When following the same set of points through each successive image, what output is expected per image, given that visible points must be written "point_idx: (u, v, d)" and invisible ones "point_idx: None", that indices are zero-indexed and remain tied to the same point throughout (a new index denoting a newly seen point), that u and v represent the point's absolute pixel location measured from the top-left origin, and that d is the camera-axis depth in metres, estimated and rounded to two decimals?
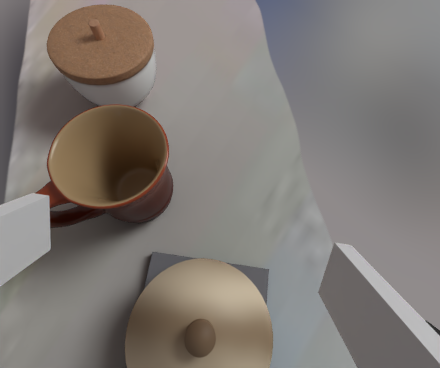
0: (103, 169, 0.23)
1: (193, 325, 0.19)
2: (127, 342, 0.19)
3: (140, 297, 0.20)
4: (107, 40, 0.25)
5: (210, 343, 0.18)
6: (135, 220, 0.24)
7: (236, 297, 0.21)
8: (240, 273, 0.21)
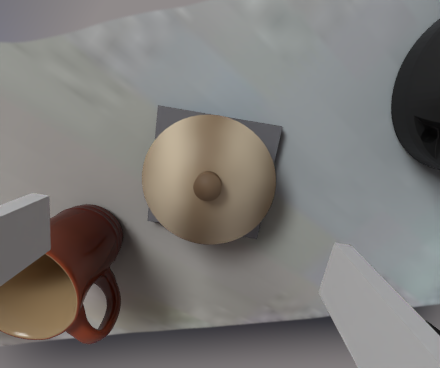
0: (63, 276, 0.24)
1: (196, 193, 0.20)
2: (212, 242, 0.23)
3: (178, 235, 0.23)
4: None
5: (210, 178, 0.20)
6: (115, 241, 0.25)
7: (177, 149, 0.21)
8: (154, 144, 0.21)
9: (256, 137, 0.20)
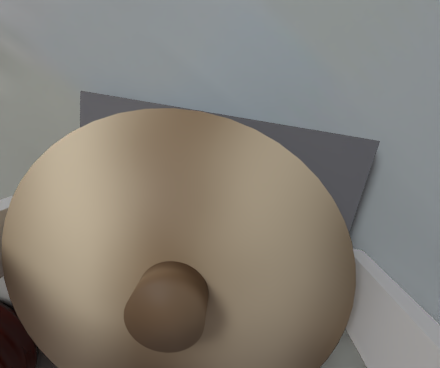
0: None
1: (134, 333, 0.07)
2: None
3: None
4: None
5: (173, 298, 0.07)
6: None
7: (85, 203, 0.07)
8: (22, 188, 0.07)
9: (310, 177, 0.07)
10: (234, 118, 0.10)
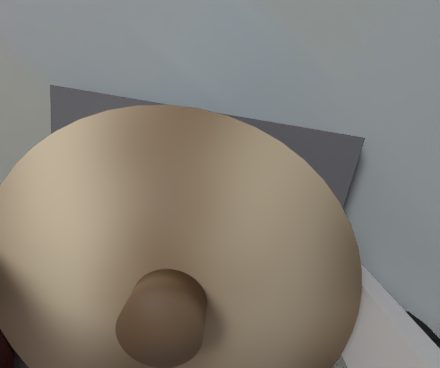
0: None
1: (127, 347, 0.07)
2: None
3: None
4: None
5: (169, 310, 0.06)
6: None
7: (73, 208, 0.07)
8: (3, 192, 0.07)
9: (314, 178, 0.06)
10: None
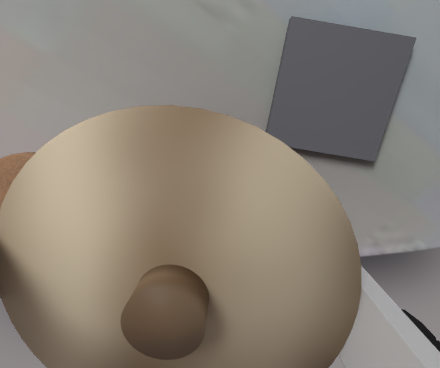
0: None
1: (131, 340, 0.07)
2: None
3: None
4: None
5: (172, 303, 0.07)
6: None
7: (80, 204, 0.07)
8: (14, 189, 0.07)
9: (314, 177, 0.07)
10: (356, 28, 0.23)
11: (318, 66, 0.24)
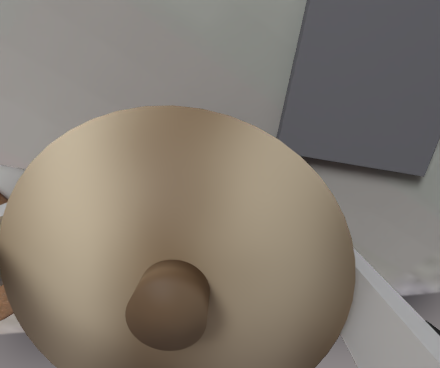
0: None
1: (135, 332, 0.07)
2: None
3: None
4: None
5: (176, 296, 0.07)
6: None
7: (84, 202, 0.07)
8: (20, 188, 0.07)
9: (310, 174, 0.07)
10: None
11: (352, 45, 0.17)
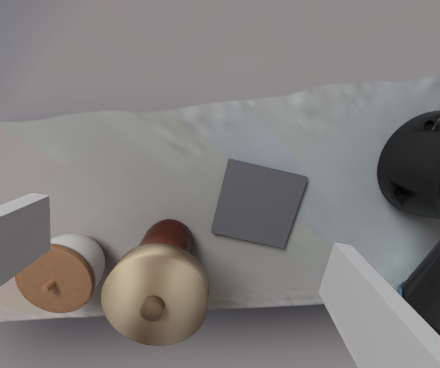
0: None
1: (142, 315, 0.26)
2: (156, 344, 0.29)
3: (129, 337, 0.28)
4: (54, 277, 0.33)
5: (154, 306, 0.26)
6: (191, 245, 0.37)
7: (129, 278, 0.26)
8: (111, 273, 0.26)
9: (192, 275, 0.26)
10: (270, 169, 0.35)
11: (246, 189, 0.36)
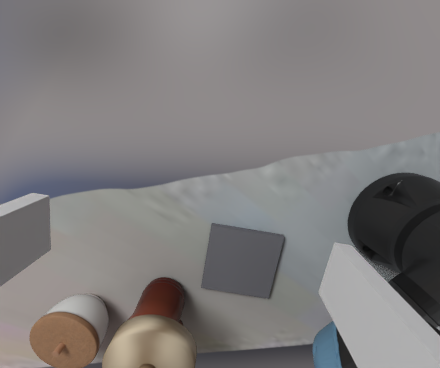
0: None
1: None
2: None
3: None
4: (63, 341, 0.37)
5: None
6: (183, 302, 0.41)
7: (125, 350, 0.30)
8: (109, 347, 0.30)
9: (178, 347, 0.30)
10: (249, 232, 0.39)
11: (229, 249, 0.40)
